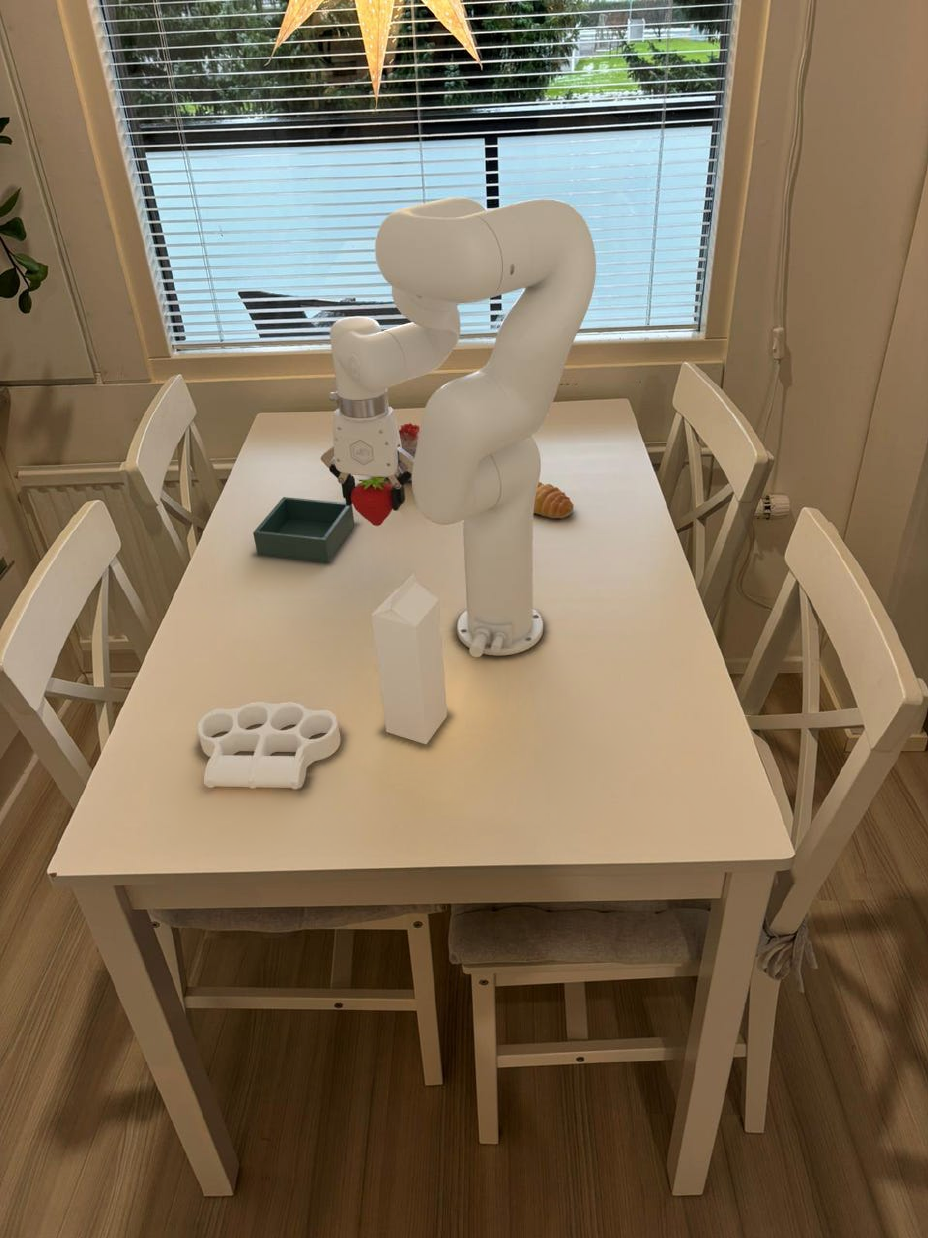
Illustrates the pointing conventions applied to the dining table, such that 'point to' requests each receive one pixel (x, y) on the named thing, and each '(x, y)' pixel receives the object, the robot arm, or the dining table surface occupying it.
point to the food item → (408, 442)
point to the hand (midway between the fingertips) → (374, 503)
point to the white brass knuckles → (265, 744)
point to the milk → (410, 662)
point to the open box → (304, 529)
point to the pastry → (552, 502)
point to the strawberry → (373, 499)
